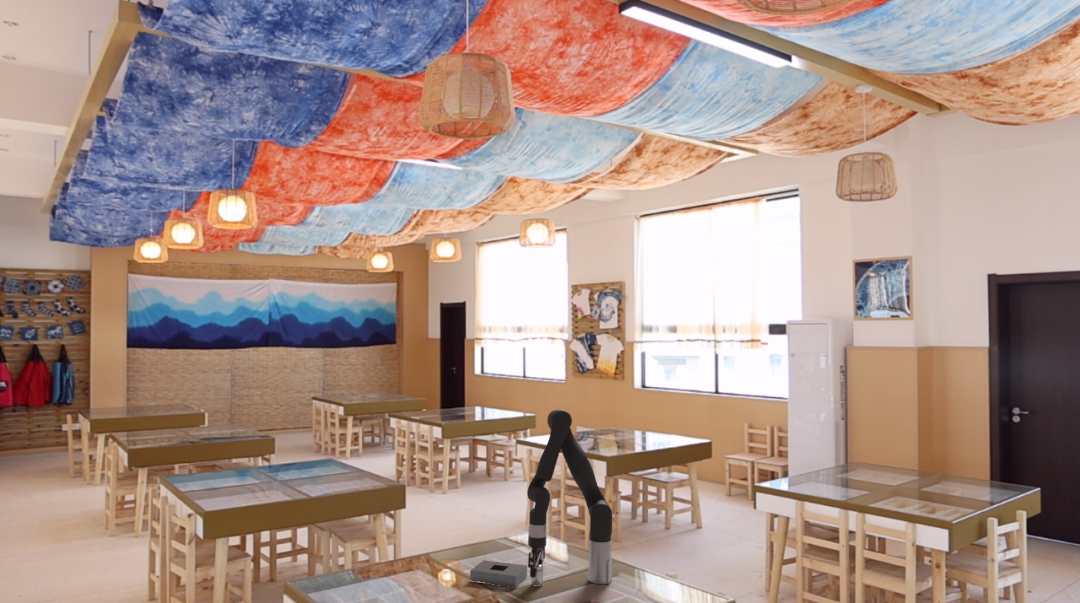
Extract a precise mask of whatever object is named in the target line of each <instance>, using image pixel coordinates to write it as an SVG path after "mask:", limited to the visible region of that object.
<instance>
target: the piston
mask: <svg viewBox="0 0 1080 603" xmlns="http://www.w3.org/2000/svg"><path fill="white" fill-rule="evenodd" d="M532 565H533V563H532ZM542 584H543V585H544V563H543V564H538V563H537V565H536V577H535V578H533V577H531V586H532V585H537V586H538V585H542Z"/></svg>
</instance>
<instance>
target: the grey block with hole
mask: <svg viewBox="0 0 1080 603" xmlns="http://www.w3.org/2000/svg"><path fill="white" fill-rule="evenodd" d="M469 577H470V579H469V580H472V581H480V582H485V583H490V584H494V585H500V586H499V587H501V586H509V587H514V588H513V589H517V588H518V587H519V586H520V585H521V584H522V583H523V582H524V581H525V580H526V579H527V578H526V577H528V564H527V565H524V564H518V563H510V562H509V563H508V562H499V561H493V560H491V561H490V560H482V561H481V562H479V563H478V564H477V565H476V566H474V567H473V568H472V569H470V575H469ZM525 578H526V579H525ZM524 579H525V580H524ZM523 580H524V581H523ZM522 581H523V582H522ZM521 582H522V583H521ZM520 583H521V584H520ZM519 584H520V585H519ZM518 585H519V586H518ZM517 586H518V587H517ZM509 587H508V588H509ZM516 587H517V588H516Z"/></svg>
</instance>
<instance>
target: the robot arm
mask: <svg viewBox="0 0 1080 603" xmlns="http://www.w3.org/2000/svg"><path fill="white" fill-rule="evenodd" d="M572 418H573V417H572V416H571V413H569V412H568V411H566V410H564V409H554V410H552V411H550V412H549V414H548V416H547V426H548V428H549V429H550V435H549V437H548V440H547V443H546V446H545V447H544V450H543V452H542V454H541V456H540V458H539V462H538V465H537V469H536V473H535V475H534V476H533V477H532V479H531V481H530V484H529V485H528V487H527V491H526V492H527V493H526V494H527V497H528V499H529V501H531V502H533V503H534V507H533V508H531V509H530V511H529V522H528V524H529V525H528V535H527V537H528V538H527V539H528V540H527V546H528V547H529V548H531V551H530V552H528V560H527V568H529V577H530V578H532V577H533V578H535V577H536V565H537V563H538V564H543V565H544V560H545V559H546V546H547V528H548V527H547V513H548V510H549V506H550V501H551V494H550V490H549V489H548V488H547V487H545V485H546V483H548V482H551V481H552V479H553V476H554V473H555V469H556V466H557V462H558V459H559V455H560V452H561V453H562V456H563V458H564V461H565V462H566V466H567V468H568V470H569V472H570V475H571V476H572V479H573V480H574V483H575V484H576V485H577V487H578V488H579V490H580V491H581V493H582V495H583V497H584V501H585V503H586V504H585V505H586V506H587V510H588V514H589V516H590V518H589V519H590V520H589V535H588V536H589V537H588V541H589V542H588V545H589V546H588V553H589V554H588V582H590V583H592V584H595V585H610V583H611V581H613V556H612V534H613V512H612V508H611V507H610V504H609V503H608V501H607V500H606V498H605V497H604V495H603V493H602V491H601V489H600V488H599V486H598V483H597V482H598V481H597V478H596V476H595V472H594V469H593V466H592V464H591V462H590V459H589V457H588V456H587V454H586V452H585V450H584V449H583V448H582V446H581V445H580V443H579V442H578V441H577V439H576V438H575V436H574V434H573V431H572V429H571V426H572V424H573V419H572ZM532 564H533V565H532Z"/></svg>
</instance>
